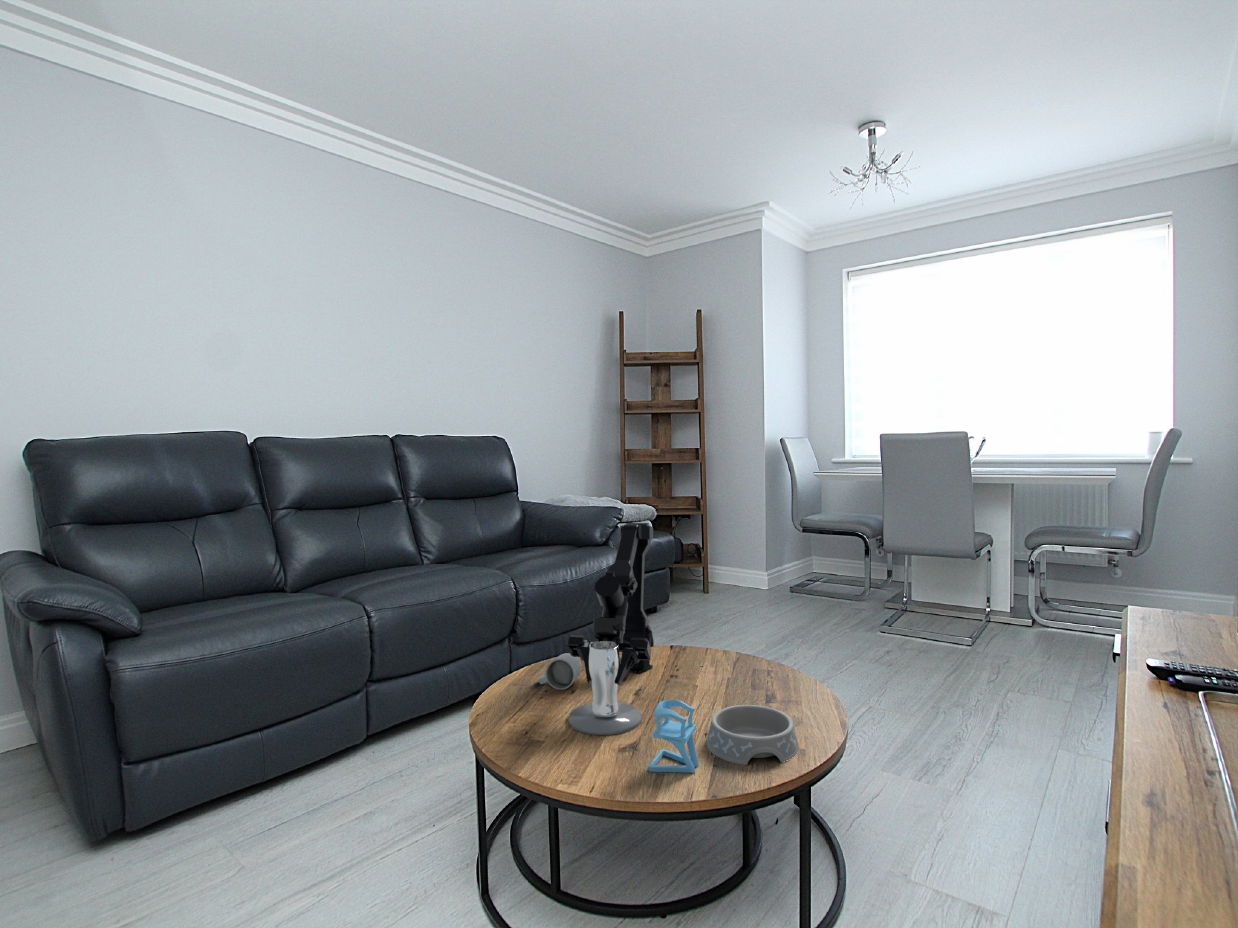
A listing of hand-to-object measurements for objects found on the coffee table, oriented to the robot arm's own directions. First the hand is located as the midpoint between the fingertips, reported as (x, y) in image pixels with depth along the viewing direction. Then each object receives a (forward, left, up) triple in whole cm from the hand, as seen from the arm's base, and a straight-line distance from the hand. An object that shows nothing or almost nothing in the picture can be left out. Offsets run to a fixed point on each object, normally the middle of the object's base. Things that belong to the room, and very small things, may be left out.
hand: (603, 683), depth 150 cm
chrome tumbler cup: (-1, +1, -7) cm, 7 cm away
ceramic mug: (-25, +10, -9) cm, 28 cm away
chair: (+24, -6, -9) cm, 27 cm away
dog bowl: (+31, +11, -9) cm, 34 cm away
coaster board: (-1, +1, -9) cm, 9 cm away
